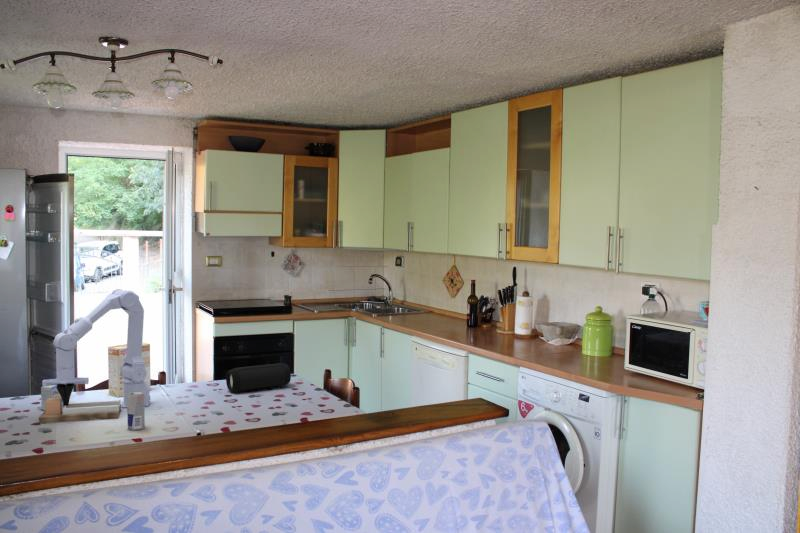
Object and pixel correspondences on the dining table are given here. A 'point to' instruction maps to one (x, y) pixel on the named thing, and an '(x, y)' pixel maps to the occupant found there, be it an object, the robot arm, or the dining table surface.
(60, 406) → the block
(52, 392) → the medicine box
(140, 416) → the energy drink
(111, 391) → the coffeecake box
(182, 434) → the dining table surface
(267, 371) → the portable speaker
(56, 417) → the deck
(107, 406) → the rails
